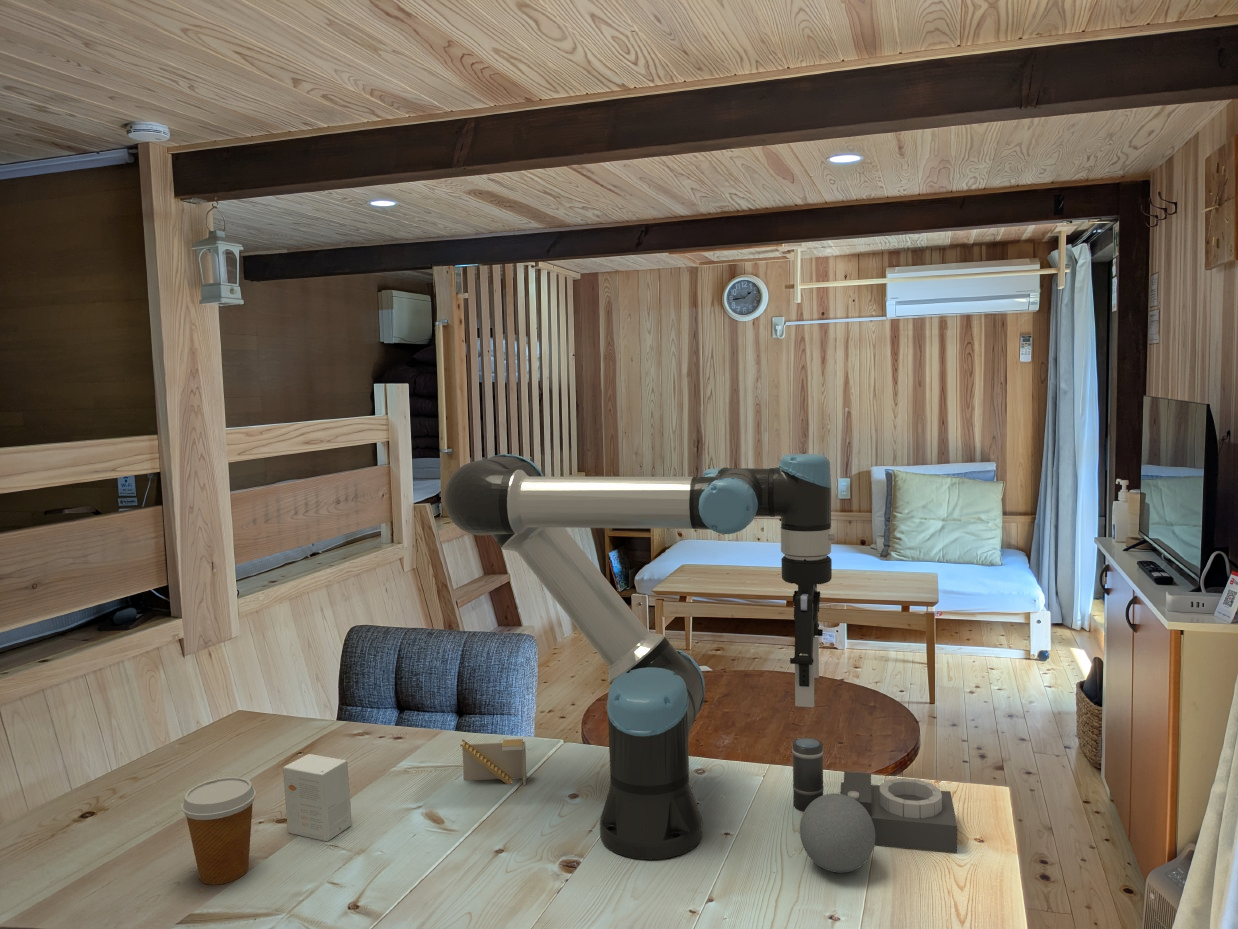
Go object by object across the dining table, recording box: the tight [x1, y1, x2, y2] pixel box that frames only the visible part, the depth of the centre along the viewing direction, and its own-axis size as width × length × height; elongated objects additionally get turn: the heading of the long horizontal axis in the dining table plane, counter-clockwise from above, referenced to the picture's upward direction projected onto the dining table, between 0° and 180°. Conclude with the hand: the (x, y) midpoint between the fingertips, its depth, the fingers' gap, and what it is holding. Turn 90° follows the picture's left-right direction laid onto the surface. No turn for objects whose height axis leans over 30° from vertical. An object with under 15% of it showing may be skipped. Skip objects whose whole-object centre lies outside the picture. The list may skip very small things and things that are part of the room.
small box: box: [282, 753, 353, 842], centre depth 139 cm, size 8×6×10 cm
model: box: [459, 738, 528, 786], centre depth 154 cm, size 3×11×8 cm, turn 92°
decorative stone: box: [799, 792, 876, 874], centre depth 123 cm, size 10×10×10 cm
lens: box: [791, 737, 825, 813], centre depth 142 cm, size 5×5×10 cm
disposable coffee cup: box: [180, 776, 257, 885], centre depth 127 cm, size 10×10×12 cm
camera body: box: [839, 771, 958, 854], centre depth 134 cm, size 16×11×7 cm
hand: (807, 691), depth 141 cm, fingers open, 13 cm apart
